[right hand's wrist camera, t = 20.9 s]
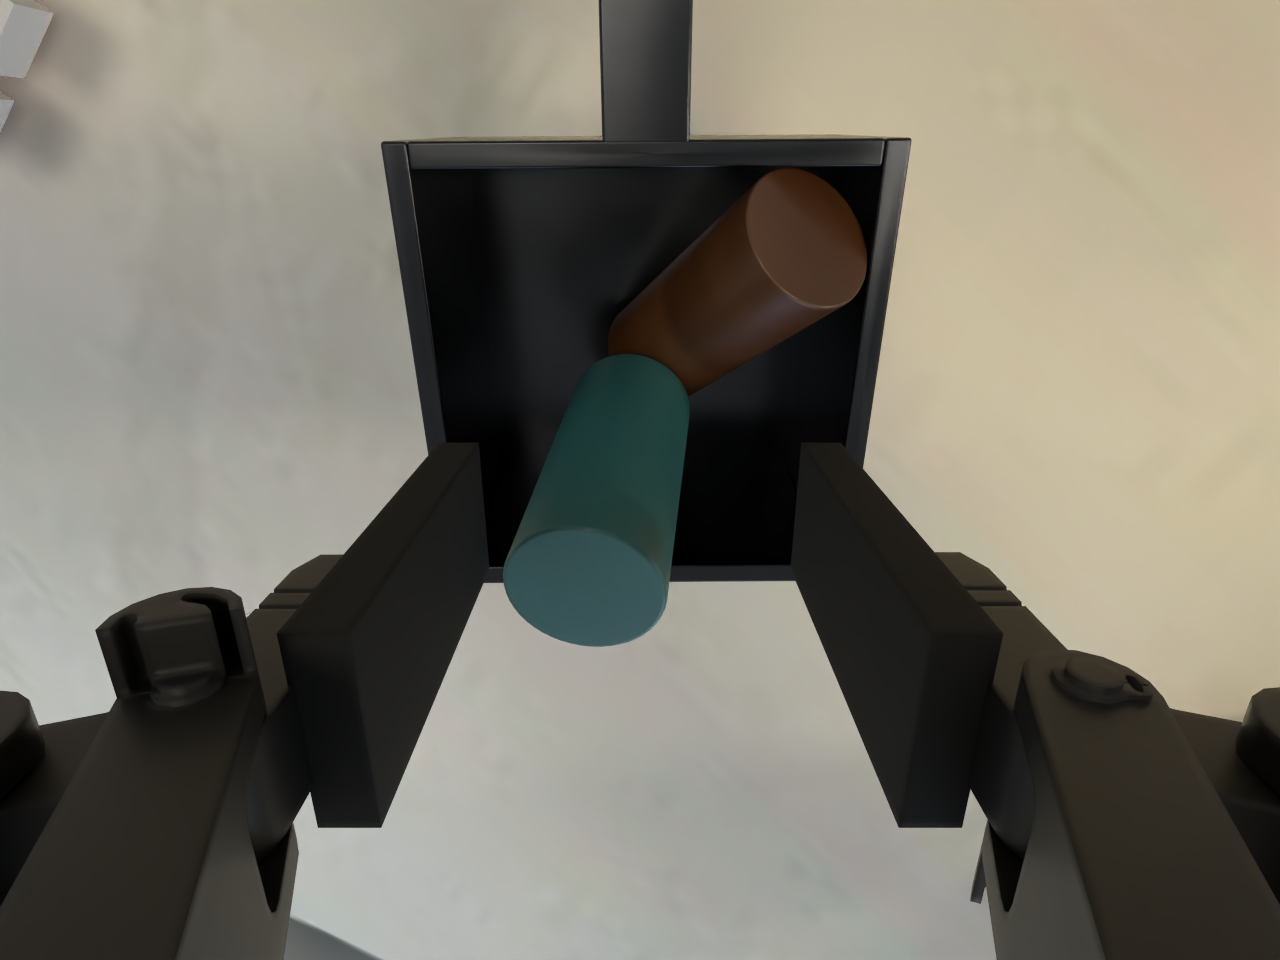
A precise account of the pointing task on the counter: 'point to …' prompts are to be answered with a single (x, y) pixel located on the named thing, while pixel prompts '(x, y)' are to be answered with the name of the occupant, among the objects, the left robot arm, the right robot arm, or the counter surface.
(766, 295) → the walnut peg
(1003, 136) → the counter surface
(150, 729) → the right robot arm
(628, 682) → the counter surface
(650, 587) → the teal peg
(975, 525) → the counter surface
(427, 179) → the black box with handle
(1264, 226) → the counter surface
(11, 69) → the toy
